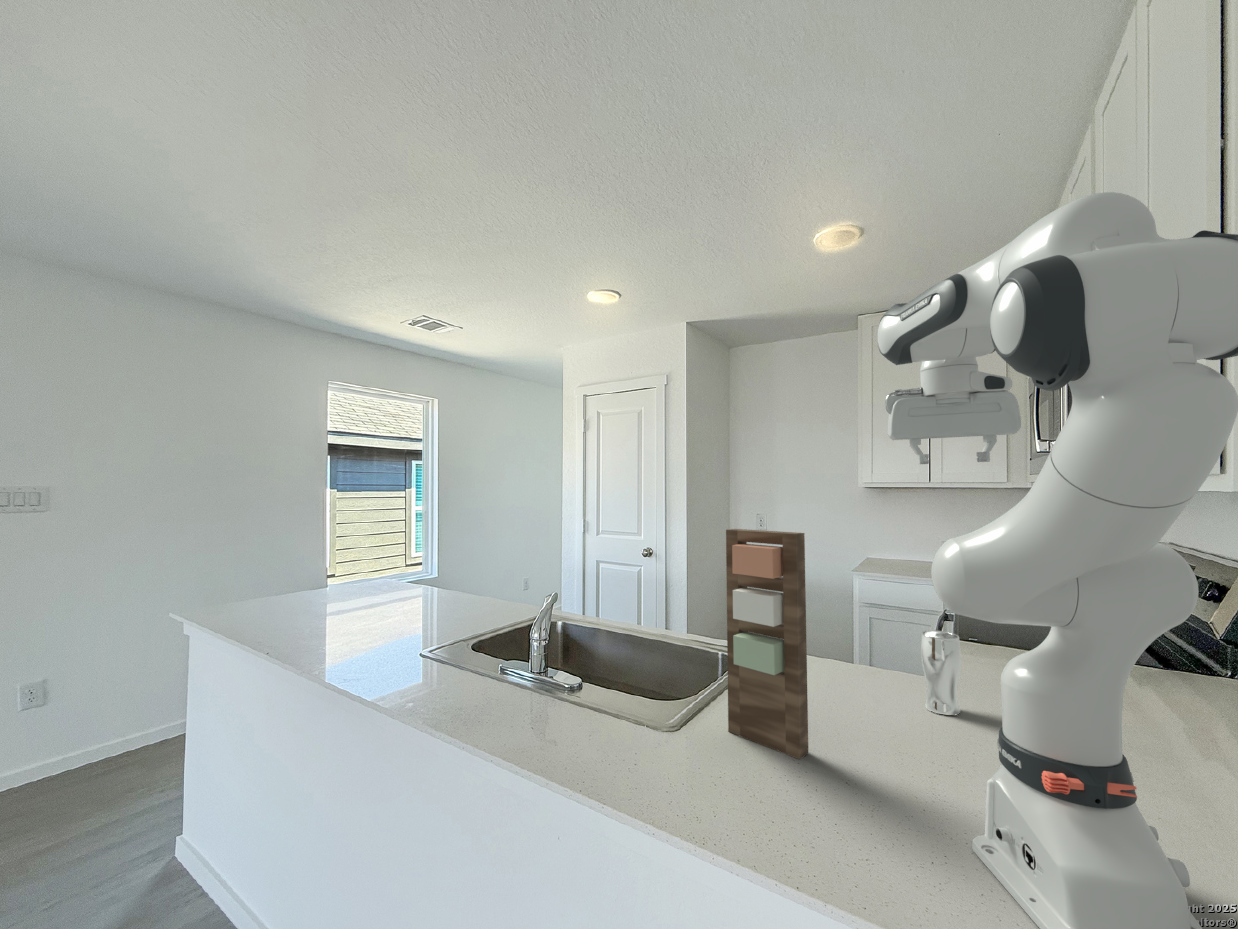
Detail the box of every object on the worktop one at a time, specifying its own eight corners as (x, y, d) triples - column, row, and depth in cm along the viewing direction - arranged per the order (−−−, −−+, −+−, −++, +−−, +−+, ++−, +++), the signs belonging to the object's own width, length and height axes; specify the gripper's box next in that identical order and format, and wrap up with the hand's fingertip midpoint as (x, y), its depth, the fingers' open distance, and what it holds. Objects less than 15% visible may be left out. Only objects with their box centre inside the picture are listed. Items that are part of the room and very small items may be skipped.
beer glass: (969, 718, 103) (966, 640, 103) (929, 715, 104) (927, 638, 105) (954, 704, 110) (951, 630, 110) (917, 701, 111) (915, 629, 112)
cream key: (773, 626, 89) (773, 596, 89) (733, 618, 95) (732, 590, 95) (785, 622, 92) (785, 593, 92) (745, 614, 97) (745, 587, 98)
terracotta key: (772, 578, 89) (772, 548, 90) (732, 573, 95) (732, 545, 95) (784, 575, 92) (784, 546, 92) (744, 570, 98) (744, 543, 98)
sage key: (774, 675, 89) (773, 645, 89) (733, 664, 94) (733, 635, 95) (786, 669, 91) (785, 640, 92) (746, 659, 97) (745, 631, 97)
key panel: (799, 759, 88) (795, 534, 89) (728, 731, 98) (726, 529, 99) (808, 753, 90) (804, 533, 91) (737, 726, 100) (735, 528, 101)
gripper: (888, 388, 95) (892, 465, 94) (1023, 378, 89) (1027, 460, 89) (881, 392, 101) (885, 465, 101) (1007, 383, 95) (1011, 461, 95)
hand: (952, 463), depth 95 cm, fingers open, 8 cm apart
